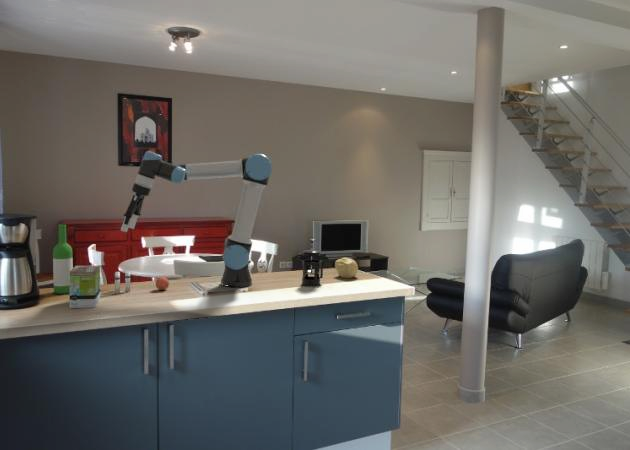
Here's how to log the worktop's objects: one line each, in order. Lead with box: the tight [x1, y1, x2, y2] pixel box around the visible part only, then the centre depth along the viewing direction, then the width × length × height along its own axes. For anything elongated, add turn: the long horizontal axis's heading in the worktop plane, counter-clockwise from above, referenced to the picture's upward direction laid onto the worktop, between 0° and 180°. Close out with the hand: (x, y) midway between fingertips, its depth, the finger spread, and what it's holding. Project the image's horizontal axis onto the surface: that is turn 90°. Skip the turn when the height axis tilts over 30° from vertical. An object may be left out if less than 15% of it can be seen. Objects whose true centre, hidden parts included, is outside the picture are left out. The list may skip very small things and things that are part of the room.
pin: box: [114, 273, 121, 295], centre depth 229 cm, size 2×2×8 cm
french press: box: [301, 238, 324, 287], centre depth 259 cm, size 12×9×23 cm
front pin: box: [124, 272, 131, 293], centre depth 233 cm, size 2×2×8 cm
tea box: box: [68, 265, 101, 309], centre depth 209 cm, size 15×10×15 cm, turn 17°
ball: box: [155, 276, 170, 291], centre depth 238 cm, size 6×6×6 cm
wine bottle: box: [52, 224, 74, 295], centre depth 227 cm, size 8×8×30 cm
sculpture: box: [334, 256, 359, 279], centre depth 281 cm, size 11×12×11 cm
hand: (127, 229), depth 233 cm, fingers open, 13 cm apart
